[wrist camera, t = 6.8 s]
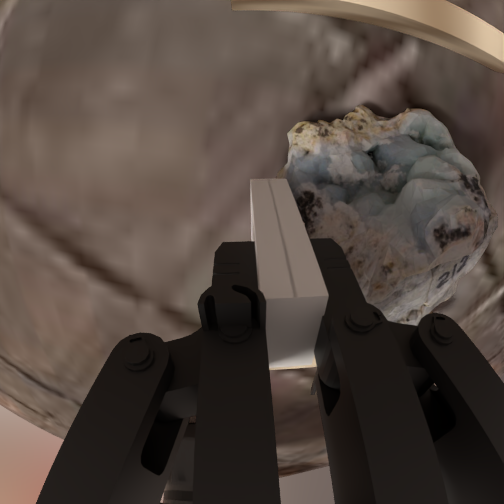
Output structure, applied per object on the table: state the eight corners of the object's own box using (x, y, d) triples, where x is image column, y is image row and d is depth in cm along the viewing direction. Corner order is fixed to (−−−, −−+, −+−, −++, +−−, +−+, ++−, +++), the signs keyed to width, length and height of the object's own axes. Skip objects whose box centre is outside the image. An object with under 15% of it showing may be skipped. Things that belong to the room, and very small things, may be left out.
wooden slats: (240, 333, 19) (241, 370, 17) (232, -19, 8) (229, -44, 5) (421, 318, 20) (436, 347, 17) (494, 47, 8) (532, 54, 6)
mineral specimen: (358, 117, 16) (293, 260, 18) (305, 41, 9) (206, 265, 12) (501, 184, 11) (425, 342, 14) (550, 131, 4) (419, 413, 7)
